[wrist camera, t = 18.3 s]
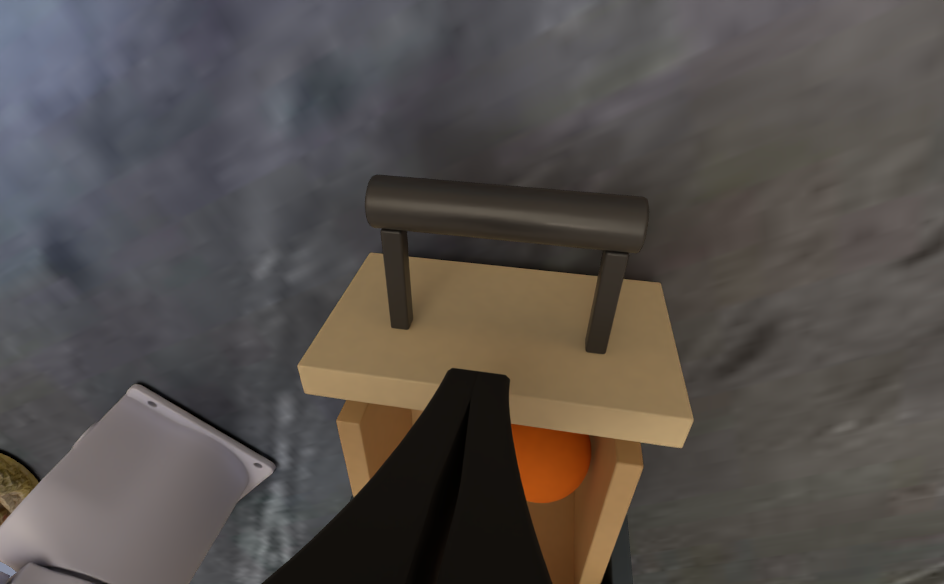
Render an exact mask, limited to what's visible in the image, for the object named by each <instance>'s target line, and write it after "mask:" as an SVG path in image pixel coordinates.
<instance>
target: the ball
mask: <svg viewBox="0 0 944 584" xmlns="http://www.w3.org/2000/svg"><path fill="white" fill-rule="evenodd" d="M511 428H512V435H513V441H514V447H515V452H516V457H517V463H518V468H519V472H520V477H521V481H522V485H523V489H524V493H525V497H526V501H529V502H534V503H550V502H554V501H558V500H560V499H563V498H565V497H566V496H568V495H570V494H571V493H572V492H573V491H575V490H576V489H577V488H578V487H579V485H580V484H581V483H582V481H583V480H584V478H585V476H586V474H587V472H588V469H589V466H590V461H591V442H590V438H589V435H586V434H580V433H573V432H566V431H559V430H552V429H545V428H538V427H531V426H524V425H518V424H511Z"/></svg>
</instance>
